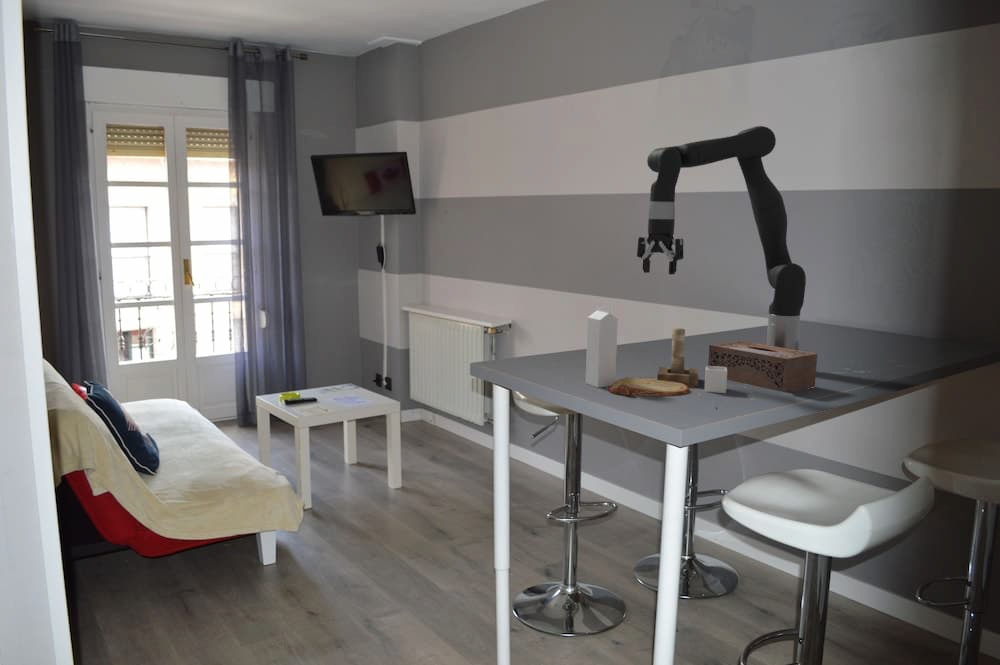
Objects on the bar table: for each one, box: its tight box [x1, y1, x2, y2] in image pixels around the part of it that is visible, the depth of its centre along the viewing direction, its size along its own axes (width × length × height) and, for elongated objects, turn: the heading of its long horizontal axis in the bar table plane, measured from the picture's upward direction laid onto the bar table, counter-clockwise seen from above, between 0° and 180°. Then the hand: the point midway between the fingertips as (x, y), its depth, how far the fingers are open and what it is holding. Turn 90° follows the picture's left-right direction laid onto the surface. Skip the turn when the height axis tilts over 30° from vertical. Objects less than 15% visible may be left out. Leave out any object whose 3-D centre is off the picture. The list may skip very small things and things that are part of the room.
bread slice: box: [607, 376, 691, 398], centre depth 213 cm, size 18×18×4 cm
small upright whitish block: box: [704, 365, 728, 394], centre depth 215 cm, size 6×6×7 cm
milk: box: [585, 305, 618, 388], centre depth 220 cm, size 6×6×22 cm
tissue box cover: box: [707, 340, 818, 393], centre depth 228 cm, size 26×14×10 cm, turn 37°
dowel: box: [671, 328, 686, 374], centre depth 224 cm, size 4×4×15 cm
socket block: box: [656, 366, 699, 388], centre depth 225 cm, size 11×11×4 cm
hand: (658, 273), depth 233 cm, fingers open, 8 cm apart
